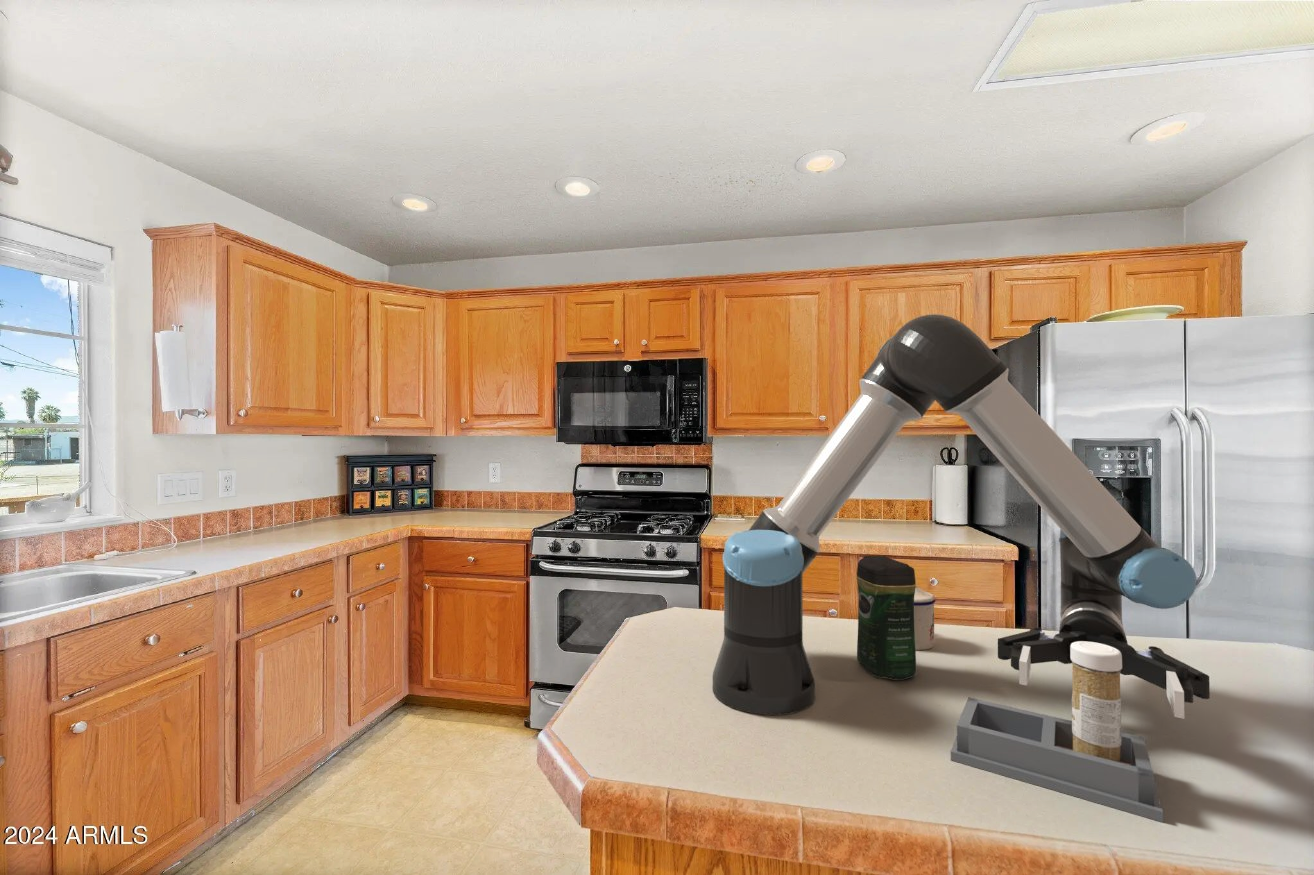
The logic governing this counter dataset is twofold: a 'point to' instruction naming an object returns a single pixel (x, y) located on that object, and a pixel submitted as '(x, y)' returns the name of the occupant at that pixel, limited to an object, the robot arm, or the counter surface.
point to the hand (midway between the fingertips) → (1096, 688)
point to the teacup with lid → (923, 619)
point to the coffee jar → (886, 617)
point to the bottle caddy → (1055, 757)
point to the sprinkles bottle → (1096, 699)
